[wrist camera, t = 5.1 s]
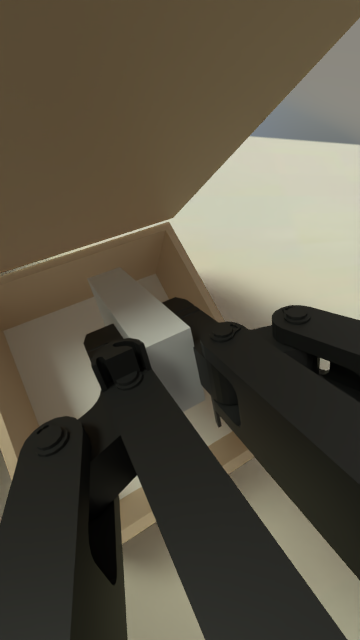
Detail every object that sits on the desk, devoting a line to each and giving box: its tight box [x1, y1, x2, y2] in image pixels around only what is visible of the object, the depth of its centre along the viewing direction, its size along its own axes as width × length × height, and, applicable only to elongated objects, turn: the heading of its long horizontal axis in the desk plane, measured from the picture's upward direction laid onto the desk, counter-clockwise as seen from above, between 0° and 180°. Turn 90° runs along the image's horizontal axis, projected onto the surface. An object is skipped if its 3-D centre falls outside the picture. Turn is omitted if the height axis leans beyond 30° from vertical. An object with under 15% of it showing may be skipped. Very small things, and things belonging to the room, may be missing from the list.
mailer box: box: [0, 222, 254, 544], centre depth 23 cm, size 16×18×8 cm
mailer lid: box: [0, 0, 360, 273], centre depth 12 cm, size 16×18×1 cm
